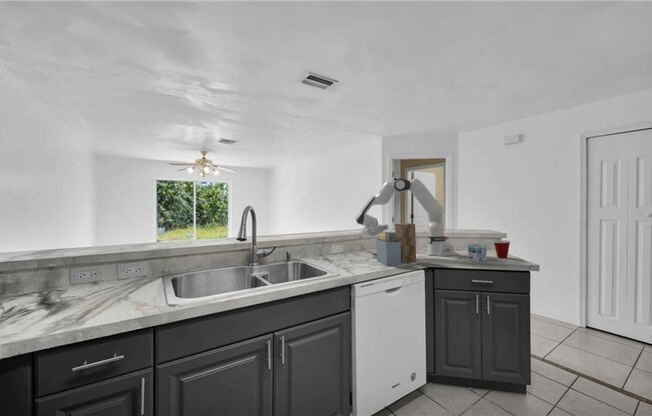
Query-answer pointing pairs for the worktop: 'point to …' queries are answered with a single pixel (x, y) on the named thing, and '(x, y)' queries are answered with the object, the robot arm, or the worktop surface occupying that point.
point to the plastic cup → (502, 248)
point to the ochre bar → (388, 236)
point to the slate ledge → (388, 252)
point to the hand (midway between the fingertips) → (380, 228)
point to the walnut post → (406, 241)
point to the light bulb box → (477, 252)
